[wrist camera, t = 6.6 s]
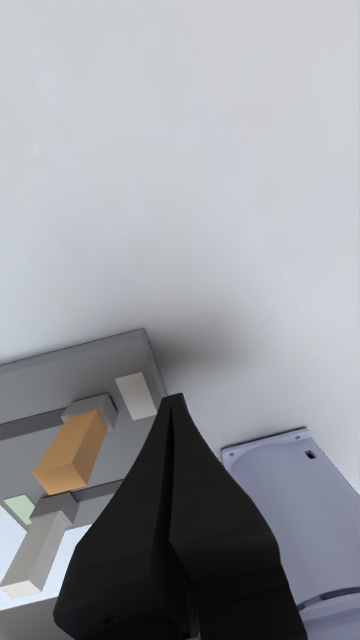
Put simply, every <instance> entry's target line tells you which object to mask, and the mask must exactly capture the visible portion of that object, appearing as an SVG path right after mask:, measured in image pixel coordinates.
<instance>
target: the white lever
mask: <svg viewBox="0 0 360 640" xmlns="http://www.w3.org/2000/svg"><path fill="white" fill-rule="evenodd" d="M78 509H79V505H78V503H77V502H76V501H75V499H74V498H73V497H72V495H71V494H70V493H69V492H67V493H63V494H59V495H56V496H52V497H48V498H44V499H40V500H38V502H37V504H36V506H35V508H34V510H33V512H32V513H31V515H30V517H29V520H30V521H31V522H32V525H31V526H30V528H29V530H28V532H27V534H26V536H25V538H24V540H23V542H22V544H21V546H20V548H19V550H18V551H17V553H16V555H15V557H14V559H13V561H12V563H11V565H10V567H9V569H8V571H7V573H6V575H5V576H4V578H3V580H2V582H1V584H0V589H1V590H2V591H4V592H5V593H6V594H8V595H9V596H11V597H12V598H13V599H15V598H19V597H23V596H27V595H31V594H35V593H39V592H42V590H43V587H44V585H45V582H46V579H47V577H48V574H49V572H50V569H51V566H52V564H53V561H54V558H55V556H56V553H57V551H58V548H59V545H60V543H61V540H62V538H63V535H64V532H65V530H66V527H67V526H70V525H73V523H74V520H75V518H76V515H77V512H78Z"/></svg>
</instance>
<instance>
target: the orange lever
mask: <svg viewBox="0 0 360 640" xmlns="http://www.w3.org/2000/svg"><path fill="white" fill-rule="evenodd" d="M61 418H62V420H63V421H64V424H63V426H62V427H61V429H60V430H59V432H58V433H57V435H56V437H55V438H54V440H53V441H52V443H51V444H50V446H49V447H48V449H47V450H46V452H45V454H44V455H43V457H42V458H41V460H40V461H39V463H38V464H37V466H36V467H35V469H34V471H33V472H32V474H33V475H34V477H35V478H36V479H37V480H38V482H39V483H40V484H41V485H42V487H43V488H44V489H45V490H46V492H47V493H48V494H49V495H53V494H57V493H61V492H65V491H69V490H72V489H76V488H80V487H84V486H87V484H88V481H89V478H90V475H91V473H92V470H93V467H94V464H95V462H96V459H97V456H98V453H99V451H100V448H101V445H102V442H103V439H104V437H105V434H106V432H108V431H112V430H114V428H115V425H116V421H117V418H118V414H117V412H116V410H115V408H114V406H113V404H112V402H111V399H110V397H109V395H108V393H107V394H103V395H99V396H95V397H91V398H87V399H83V400H80V401H76V402H72V403H70V404H69V406H68V407H67V408H66V410H65V411H64V413H63V414H62V416H61Z"/></svg>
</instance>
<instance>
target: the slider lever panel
mask: <svg viewBox="0 0 360 640" xmlns="http://www.w3.org/2000/svg"><path fill="white" fill-rule="evenodd" d="M107 393H108V395H109V397H110V399H111V402H112V404H113V406H114V408H115V410H116V412H117V414H118V418H117V421H116V425H115V428H114V430H112V431H108V432H106V434H105V437H104V439H103V442H102V445H101V448H100V451H99V453H98V456H97V459H96V462H95V464H94V467H93V470H92V473H91V475H90V478H89V481H88V484H87V486H84V487H80V488H76V489H72V490H69V491H65V492H61V493H57V494H53V495H49V494H48V493H47V492H46V490H45V489H44V488H43V487H42V485H41V484H40V483H39V482H38V480H37V479H36V478H35V477H34V475H33V474H32V472H33V471H34V469H35V467H36V466H37V464H38V463H39V461H40V460H41V458H42V457H43V455H44V454H45V452H46V450H47V449H48V447H49V446H50V444H51V443H52V441H53V440H54V438H55V437H56V435H57V433H58V432H59V430H60V429H61V427H62V426H63V424H64V421H63V420H62V418H61V416H62V414H63V413H64V411H65V410H66V408H67V407H68V406H69V404H70V403H72V402H76V401H80V400H83V399H87V398H91V397H95V396H99V395H103V394H107ZM163 397H167V394H166V391H165V388H164V385H163V382H162V379H161V376H160V373H159V370H158V367H157V364H156V361H155V358H154V355H153V352H152V349H151V347H150V344H149V341H148V338H147V335H146V332H145V329H144V328H142V329H138V330H134V331H131V332H127V333H123V334H119V335H115V336H111V337H108V338H104V339H100V340H96V341H92V342H88V343H85V344H81V345H77V346H73V347H69V348H66V349H62V350H58V351H54V352H50V353H46V354H43V355H39V356H35V357H31V358H27V359H23V360H20V361H16V362H12V363H8V364H4V365H0V505H1V506H2V507H3V508H4V509H5V510H6V511H7V512H8V513H9V514H10V515H11V516H12V517H13V518H14V519H15V520H16V521H17V522H18V523H19V524H20V525H21V526H22V527H23V528H24V529H25V530H26V531H27V532H28V530H29V528H30V526H31V525H32V522H31V521H30V520H29V517H30V515H31V513H32V512H33V510H34V508H35V506H36V504H37V502H38V500H40V499H44V498H48V497H52V496H56V495H59V494H63V493H67V492H69V493H70V494H71V495H72V497H73V498H74V499H75V501H76V502H77V503H78V505H79V509H78V512H77V515H76V518H75V520H74V523H73V525H70V526H67V527H66V530H70V529H74V528H77V527H81V526H85V525H89V524H93V523H94V522H95V521H96V519H97V518H98V517H99V515H100V514H101V513H102V511H103V510H104V508H105V507H106V506H107V504H108V503H109V501H110V500H111V498H112V497H113V495H114V494H115V492H116V491H117V490H118V488H119V487H120V485H121V483H122V482H123V480H124V479H125V477H126V475H127V474H128V472H129V470H130V469H131V467H132V465H133V464H134V462H135V460H136V458H137V456H138V454H139V453H140V451H141V449H142V447H143V445H144V443H145V440H146V438H147V436H148V434H149V432H150V429H151V427H152V424H153V422H154V419H155V417H156V414H157V412H158V409H159V406H160V403H161V399H162V398H163ZM66 530H65V531H66Z"/></svg>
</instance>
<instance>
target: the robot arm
mask: <svg viewBox="0 0 360 640" xmlns="http://www.w3.org/2000/svg"><path fill="white" fill-rule="evenodd" d="M221 454H222V458H223V462H224V466H225V468H224V466H223V465H222V464H221V462H220V461H219V460H218V459H217V457H216V456H215V455H214V453H213V452H212V451H211V449H210V448H209V446H208V445H207V443H206V442H205V440H204V439H203V437H202V436H201V434H200V432H199V431H198V429H197V427H196V426H195V424H194V422H193V420H192V418H191V416H190V414H189V412H188V409H187V406H186V402H185V399H184V396H183V394H182V393H178V394H174V395H170V396H167V397H163V398H162V399H161V403H160V406H159V409H158V412H157V414H156V417H155V419H154V422H153V424H152V427H151V429H150V432H149V434H148V436H147V438H146V440H145V443H144V445H143V447H142V449H141V451H140V453H139V454H138V456H137V458H136V460H135V462H134V464H133V465H132V467H131V469H130V470H129V472H128V474H127V475H126V477H125V479H124V480H123V482H122V483H121V485H120V487H119V488H118V490H117V491H116V492H115V494H114V495H113V497H112V498H111V500H110V501H109V503H108V504H107V506H106V507H105V508H104V510H103V511H102V513H101V514H100V515H99V517H98V518H97V519H96V521H95V522H94V523H93V524H92V526H91V527H90V528H89V530H88V531H87V532H86V533H85V535H84V536H83V537H82V539H81V540H80V541H79V542H78V544H77V545H76V547H75V550H74V552H73V555H72V557H71V560H70V562H69V565H68V568H67V571H66V574H65V577H64V580H63V584H62V587H61V590H60V593H59V596H58V599H57V602H56V605H55V608H54V611H53V617H54V621H55V623H56V625H57V626H58V627H59V628H61V629H62V630H63V631H65V632H66V633H67V634H69V635H70V636H71V637H73V638H74V639H75V640H360V496H359V494H358V493H357V492H356V491H355V490H354V488H353V487H352V486H351V485H350V484H349V482H348V481H347V480H346V479H345V478H344V476H343V475H342V474H341V473H340V472H339V470H338V469H337V468H336V467H335V466H334V464H333V463H332V462H331V461H330V460H329V458H328V457H327V456H326V455H325V454H324V452H323V451H322V450H321V449H320V448H319V446H318V445H317V444H316V443H315V442H314V440H313V439H312V438H311V432H310V431H309V430H308V429H306V428H305V429H300V430H297V431H293V432H289V433H285V434H281V435H277V436H273V437H269V438H265V439H261V440H258V441H254V442H250V443H246V444H242V445H238V446H234V447H230V448H226V449H223V450H222V452H221ZM199 631H200V636H199V637H198V635H199Z"/></svg>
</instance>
